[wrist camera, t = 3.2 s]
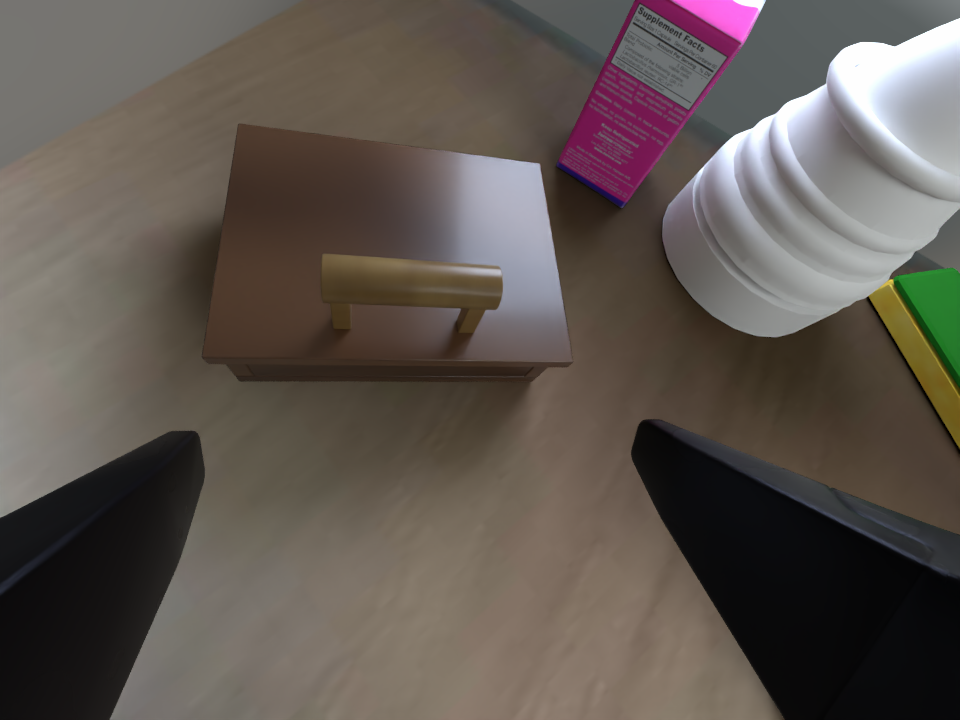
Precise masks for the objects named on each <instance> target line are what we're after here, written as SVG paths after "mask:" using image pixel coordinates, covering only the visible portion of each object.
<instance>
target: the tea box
mask: <svg viewBox="0 0 960 720" xmlns="http://www.w3.org/2000/svg"><path fill="white" fill-rule="evenodd" d="M226 365H227V366H228V367H229V369H230V370H231V371H232V373H233V374H234V375H235V376H236V377H237V379H238V380H239V381H391V382H532V381H533V380H534V379H535V378H536V377H538V376H539V375H540V374H541V373H542V372H543V371H544V370H545V369H546V368H547V367H484V366H380V365H276V364H226Z"/></svg>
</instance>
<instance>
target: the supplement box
mask: <svg viewBox="0 0 960 720" xmlns="http://www.w3.org/2000/svg"><path fill="white" fill-rule="evenodd" d="M765 1H766V0H635V1H634V3H633V5H632V7H631V9H630V12H629V14H628V16H627V18H626V20H625V22H624V24H623V26H622V28H621V31H620V32H619V35H618V37H617V39H616V41H615V43H614V45H613V47H612V49H611V51H610V53H609V56H608V57H607V59H606V62H605V64H604V66H603V68H602V70H601V72H600V74H599V76H598V78H597V81H596V82H595V84H594V87H593V89H592V91H591V93H590V95H589V97H588V99H587V101H586V103H585V105H584V108H583V110H582V112H581V114H580V116H579V118H578V120H577V122H576V124H575V126H574V128H573V130H572V132H571V135H570V137H569V139H568V141H567V143H566V145H565V147H564V149H563V151H562V154H561V156H560V158H559V160H558V162H557V164H556V166H557V167H558V168H560V169H562V170H563V171H565V172H566V173H568V174H569V175H571V176H573V177H574V178H576V179H577V180H579V181H580V182H582V183H584V184H585V185H587V186H588V187H590V188H591V189H593V190H594V191H596V192H598V193H599V194H601V195H602V196H604V197H605V198H607V199H608V200H610V201H611V202H613V203H614V204H616V205H617V206H619V207H620V208H623V207H624V206H625V205H626V203H627V202H628V201H629V199H630V198H631V196H632V195H633V193H634V192H635V191H636V189H637V188H638V187H639V185H640V184H641V183H642V181H643V180H644V179H645V177H646V176H647V175H648V173H649V172H650V171H651V169H652V168H653V167H654V165H655V164H656V162H657V161H658V160H659V158H660V157H661V155H662V154H663V153H664V151H665V150H666V148H667V147H668V146H669V144H670V143H671V142H672V140H673V139H674V138H675V136H676V135H677V134H678V132H679V131H680V130H681V128H682V127H683V126H684V124H685V123H686V122H687V120H688V119H689V118H690V116H691V115H692V114H693V112H694V111H695V109H696V108H697V107H698V105H699V104H700V103H701V101H702V100H703V98H704V97H705V96H706V95H707V93H708V92H709V90H710V89H711V88H712V87H713V85H714V84H715V83H716V81H717V80H718V78H719V77H720V76H721V74H722V73H723V71H724V70H725V69H726V67H727V66H728V65H729V63H730V62H731V61H732V59H733V58H734V57H735V55H736V54H737V53H738V51H739V50H740V48H741V47H742V46H743V44H744V42H745V41H746V39H747V37H748V35H749V33H750V31H751V29H752V27H753V25H754V23H755V21H756V19H757V17H758V15H759V13H760V11H761V9H762V7H763V5H764V3H765Z"/></svg>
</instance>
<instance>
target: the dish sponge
mask: <svg viewBox="0 0 960 720" xmlns="http://www.w3.org/2000/svg"><path fill="white" fill-rule="evenodd" d="M869 298H870V300H871V301H872V303H873V305H874V306H875V308H876V310H877V311H878V313H879V315H880V317H881V318H882V320H883V322H884V323H885V325H886V327H887V328H888V330H889V332H890V333H891V335H892V337H893V338H894V340H895V342H896V343H897V345H898V347H899V348H900V350H901V352H902V353H903V355H904V357H905V358H906V360H907V362H908V363H909V365H910V367H911V368H912V370H913V372H914V373H915V375H916V377H917V378H918V380H919V382H920V383H921V385H922V387H923V388H924V390H925V392H926V393H927V395H928V397H929V398H930V400H931V402H932V403H933V405H934V407H935V409H936V410H937V412H938V414H939V415H940V417H941V419H942V420H943V422H944V424H945V425H946V427H947V429H948V430H949V432H950V434H951V435H952V437H953V439H954V440H955V442H956V444H957V445H958V447H959V449H960V273H959V272H958V271H957V270H955V269H954V268H947V269H940V270H933V271H926V272H919V273H912V274H905V275H898V276H896V277H894V279H892V280H888V281H887V282H886V283H884V284H883V285H882V286H881V287H879V288H878V289H877V290H876V291H874V292H873V293H872V294H870V295H869Z"/></svg>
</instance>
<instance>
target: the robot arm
mask: <svg viewBox="0 0 960 720" xmlns="http://www.w3.org/2000/svg"><path fill="white" fill-rule="evenodd" d="M631 456H632V460H633V463H634V465H635V467H636V469H637V471H638V473H639V475H640V477H641V479H642V481H643V483H644V485H645V487H646V489H647V491H648V493H649V495H650V497H651V500H652V502H653V504H654V506H655V508H656V510H657V512H658V513H659V515H660V517H661V519H662V521H663V522H664V524H665V526H666V528H667V529H668V531H669V532H670V534H671V536H672V537H673V539H674V541H675V542H676V544H677V545H678V547H679V549H680V550H681V552H682V554H683V555H684V557H685V558H686V560H687V562H688V563H689V565H690V567H691V568H692V570H693V571H694V573H695V575H696V576H697V578H698V580H699V581H700V583H701V584H702V586H703V588H704V589H705V591H706V593H707V594H708V596H709V597H710V599H711V601H712V602H713V604H714V606H715V607H716V609H717V610H718V612H719V614H720V615H721V617H722V619H723V620H724V622H725V623H726V625H727V627H728V628H729V630H730V632H731V633H732V635H733V636H734V638H735V640H736V641H737V643H738V645H739V646H740V648H741V649H742V651H743V653H744V654H745V656H746V658H747V659H748V661H749V662H750V664H751V666H752V667H753V669H754V671H755V672H756V674H757V675H758V677H759V679H760V680H761V682H762V684H763V685H764V687H765V688H766V690H767V692H768V693H769V695H770V697H771V698H772V700H773V701H774V703H775V705H776V706H777V708H778V709H779V711H780V713H781V714H782V716H783V718H784V719H785V720H960V535H958V534H955V533H952V532H950V531H947V530H944V529H941V528H938V527H936V526H933V525H930V524H927V523H924V522H922V521H919V520H916V519H913V518H911V517H908V516H905V515H903V514H900V513H897V512H894V511H892V510H889V509H886V508H884V507H881V506H878V505H876V504H873V503H871V502H868V501H865V500H863V499H860V498H858V497H855V496H852V495H850V494H847V493H845V492H842V491H840V490H837V489H835V488H829V487H828V486H827V485H824V484H822V483H819V482H817V481H814V480H812V479H809V478H807V477H804V476H802V475H799V474H797V473H794V472H792V471H789V470H786V469H784V468H781V467H779V466H776V465H774V464H771V463H769V462H766V461H764V460H761V459H759V458H756V457H754V456H751V455H748V454H746V453H743V452H741V451H738V450H736V449H733V448H731V447H728V446H726V445H723V444H721V443H718V442H716V441H713V440H711V439H708V438H705V437H703V436H700V435H698V434H695V433H693V432H690V431H688V430H685V429H683V428H680V427H678V426H675V425H673V424H670V423H667V422H665V421H662V420H659V419H648V420H643V421H641V422H640V424H639V426H638V429H637V432H636V436H635V439H634V443H633V446H632V450H631ZM204 478H205V467H204V461H203V454H202V448H201V441H200V437H199V435H198V433H197V432H195V431H171V432H168V433H166V434H164V435H162V436H160V437H158V438H156V439H154V440H152V441H150V442H148V443H146V444H144V445H142V446H140V447H139V448H137V449H135V450H133V451H131V452H129V453H127V454H125V455H123V456H121V457H119V458H117V459H115V460H113V461H111V462H109V463H107V464H105V465H103V466H101V467H99V468H98V469H96V470H94V471H92V472H90V473H88V474H86V475H84V476H82V477H80V478H78V479H76V480H74V481H72V482H70V483H68V484H66V485H64V486H62V487H60V488H58V489H56V490H55V491H53V492H51V493H49V494H47V495H45V496H43V497H41V498H39V499H37V500H35V501H33V502H31V503H29V504H27V505H25V506H23V507H21V508H19V509H17V510H15V511H14V512H12V513H10V514H8V515H6V516H4V517H2V518H0V720H109V719H110V717H111V715H112V713H113V710H114V708H115V706H116V704H117V701H118V699H119V697H120V695H121V692H122V690H123V688H124V686H125V683H126V681H127V679H128V677H129V674H130V672H131V670H132V667H133V665H134V663H135V661H136V658H137V656H138V654H139V652H140V649H141V647H142V645H143V643H144V640H145V638H146V636H147V634H148V631H149V629H150V627H151V625H152V622H153V620H154V618H155V615H156V613H157V611H158V609H159V606H160V604H161V602H162V600H163V597H164V595H165V593H166V591H167V588H168V586H169V584H170V582H171V579H172V577H173V575H174V572H175V570H176V568H177V565H178V563H179V560H180V557H181V554H182V551H183V548H184V545H185V542H186V539H187V535H188V532H189V529H190V526H191V522H192V519H193V516H194V512H195V509H196V506H197V503H198V499H199V496H200V493H201V489H202V486H203V483H204Z"/></svg>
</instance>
